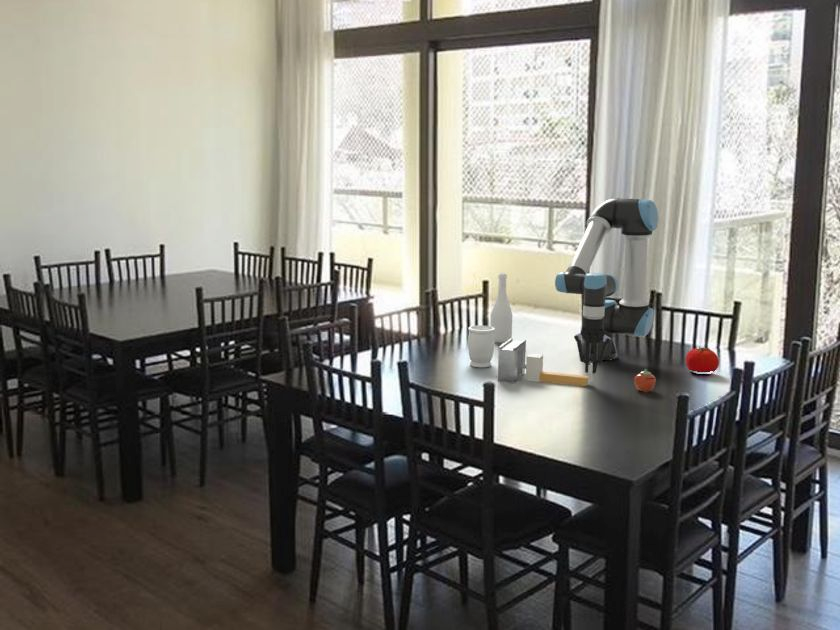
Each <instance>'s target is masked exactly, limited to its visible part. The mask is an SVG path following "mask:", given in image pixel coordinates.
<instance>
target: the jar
mask: <svg viewBox="0 0 840 630" xmlns="http://www.w3.org/2000/svg"><path fill="white" fill-rule="evenodd" d="M494 331H495V328H494V327H491V326H490V325H471V326H469V327H468V338H467V348H468V356H469V359H470V361H471V362H470V363H469V365H470V366H471V367H473V368H479V369H482V368H483V369H484V368H490V367H491V366H492V362H491V361H492V359H493V356H494V350H495V343H496V342H495V339H494V333H493V332H494Z"/></svg>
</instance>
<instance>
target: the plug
mask: <svg viewBox="0 0 840 630" xmlns="http://www.w3.org/2000/svg"><path fill="white" fill-rule="evenodd" d="M543 367H544V354H539V353H529V354H527V355H526V356H525V365H523V366H521V368H524V369H525V381H526V382H527V381H529V382H537V383H539V382H544V383H553V384H561V385H572V386H579V385H581V387H587V386H588V385H587V384H589V383H588V375H582V374H571V373H562V372H552V371H543Z"/></svg>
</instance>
